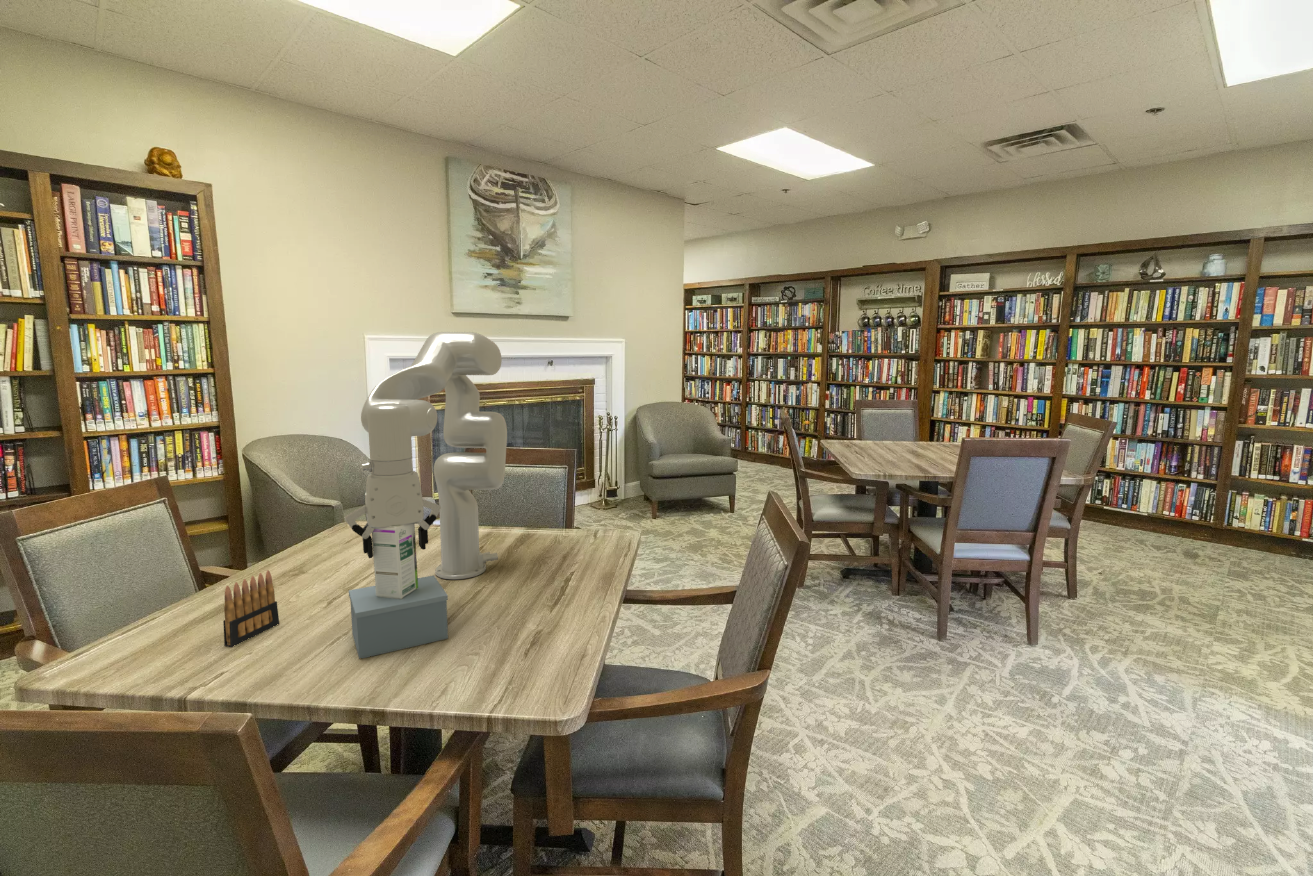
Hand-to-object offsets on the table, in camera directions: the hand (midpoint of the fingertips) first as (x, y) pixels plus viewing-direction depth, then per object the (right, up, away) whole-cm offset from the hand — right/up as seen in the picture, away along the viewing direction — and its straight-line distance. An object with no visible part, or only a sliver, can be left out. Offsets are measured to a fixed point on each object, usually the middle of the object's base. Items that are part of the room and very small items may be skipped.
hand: (396, 551), depth 118 cm
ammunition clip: (-30, -17, +2) cm, 35 cm away
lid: (0, -9, +1) cm, 9 cm away
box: (0, -17, +2) cm, 18 cm away
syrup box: (0, -9, +1) cm, 9 cm away
